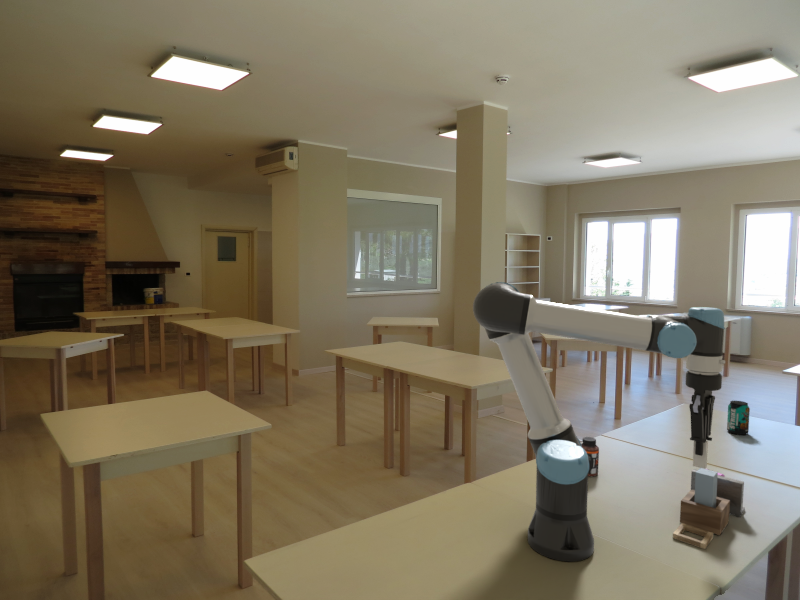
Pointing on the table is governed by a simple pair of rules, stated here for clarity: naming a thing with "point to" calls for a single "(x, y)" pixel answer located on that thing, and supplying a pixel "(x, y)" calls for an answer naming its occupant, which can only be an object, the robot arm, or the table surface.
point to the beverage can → (738, 417)
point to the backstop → (727, 492)
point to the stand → (702, 544)
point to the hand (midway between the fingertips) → (699, 466)
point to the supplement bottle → (591, 454)
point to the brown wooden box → (705, 514)
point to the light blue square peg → (706, 487)
